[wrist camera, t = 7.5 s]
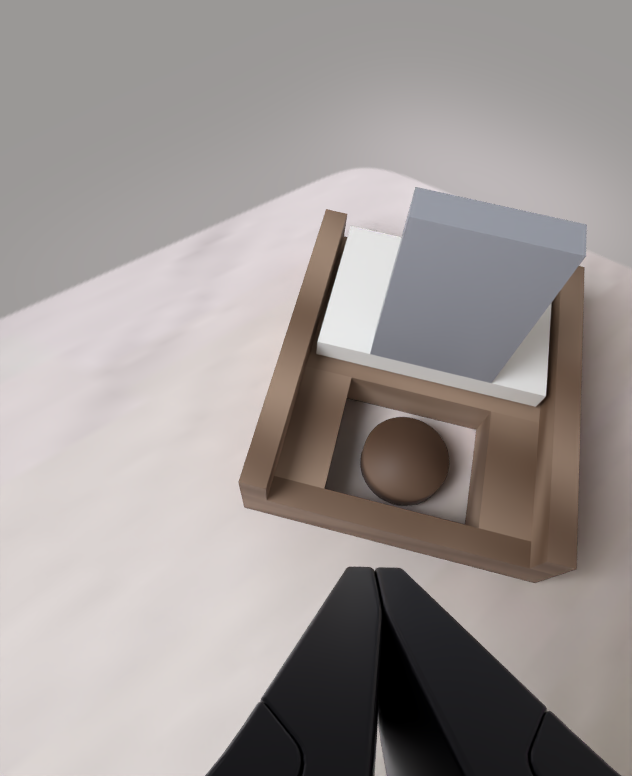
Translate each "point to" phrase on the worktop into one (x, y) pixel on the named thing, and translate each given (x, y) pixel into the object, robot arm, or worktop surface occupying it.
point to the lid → (454, 295)
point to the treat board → (423, 444)
